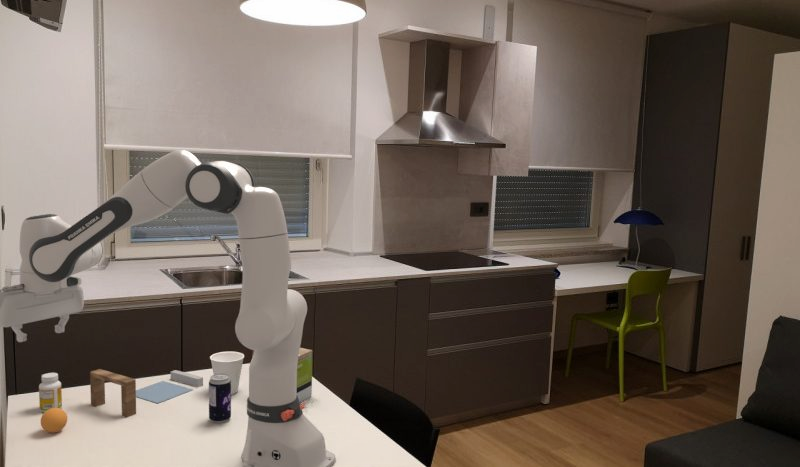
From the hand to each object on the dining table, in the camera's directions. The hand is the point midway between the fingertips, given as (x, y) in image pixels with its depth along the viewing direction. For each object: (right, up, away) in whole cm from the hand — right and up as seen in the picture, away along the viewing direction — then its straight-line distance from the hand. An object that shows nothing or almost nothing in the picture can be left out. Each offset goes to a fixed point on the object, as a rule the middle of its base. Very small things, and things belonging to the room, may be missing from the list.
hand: (41, 336), depth 158 cm
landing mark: (+16, -22, +35) cm, 44 cm away
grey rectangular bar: (+21, -21, +43) cm, 53 cm away
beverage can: (+39, -25, +16) cm, 49 cm away
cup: (+35, -23, +37) cm, 56 cm away
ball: (0, -22, +6) cm, 23 cm away
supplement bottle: (-8, -23, +20) cm, 32 cm away
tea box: (+52, -24, +34) cm, 67 cm away
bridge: (+8, -23, +21) cm, 32 cm away
